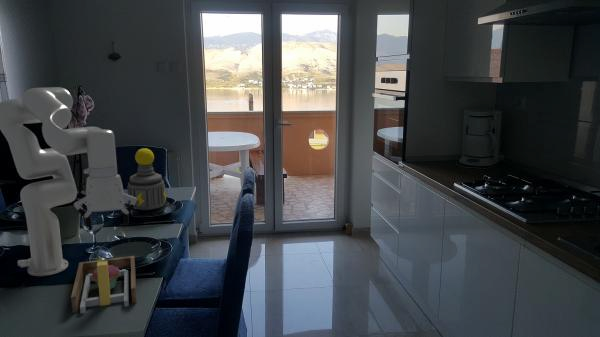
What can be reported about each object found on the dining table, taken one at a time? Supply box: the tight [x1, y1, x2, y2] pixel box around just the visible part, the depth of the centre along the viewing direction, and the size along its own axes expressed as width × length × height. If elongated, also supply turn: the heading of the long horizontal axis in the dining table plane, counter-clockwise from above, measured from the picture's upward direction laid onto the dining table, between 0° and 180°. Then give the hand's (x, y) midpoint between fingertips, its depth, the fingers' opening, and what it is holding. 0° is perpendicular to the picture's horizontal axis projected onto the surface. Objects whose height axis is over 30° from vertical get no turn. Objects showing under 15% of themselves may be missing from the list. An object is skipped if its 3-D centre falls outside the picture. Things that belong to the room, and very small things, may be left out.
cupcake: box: [92, 254, 120, 290], centre depth 147 cm, size 9×8×12 cm
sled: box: [79, 261, 130, 314], centre depth 143 cm, size 13×22×13 cm, turn 20°
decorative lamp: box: [126, 147, 167, 211], centre depth 232 cm, size 19×19×30 cm
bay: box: [70, 255, 137, 314], centre depth 147 cm, size 18×25×5 cm
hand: (108, 227), depth 137 cm, fingers open, 9 cm apart
